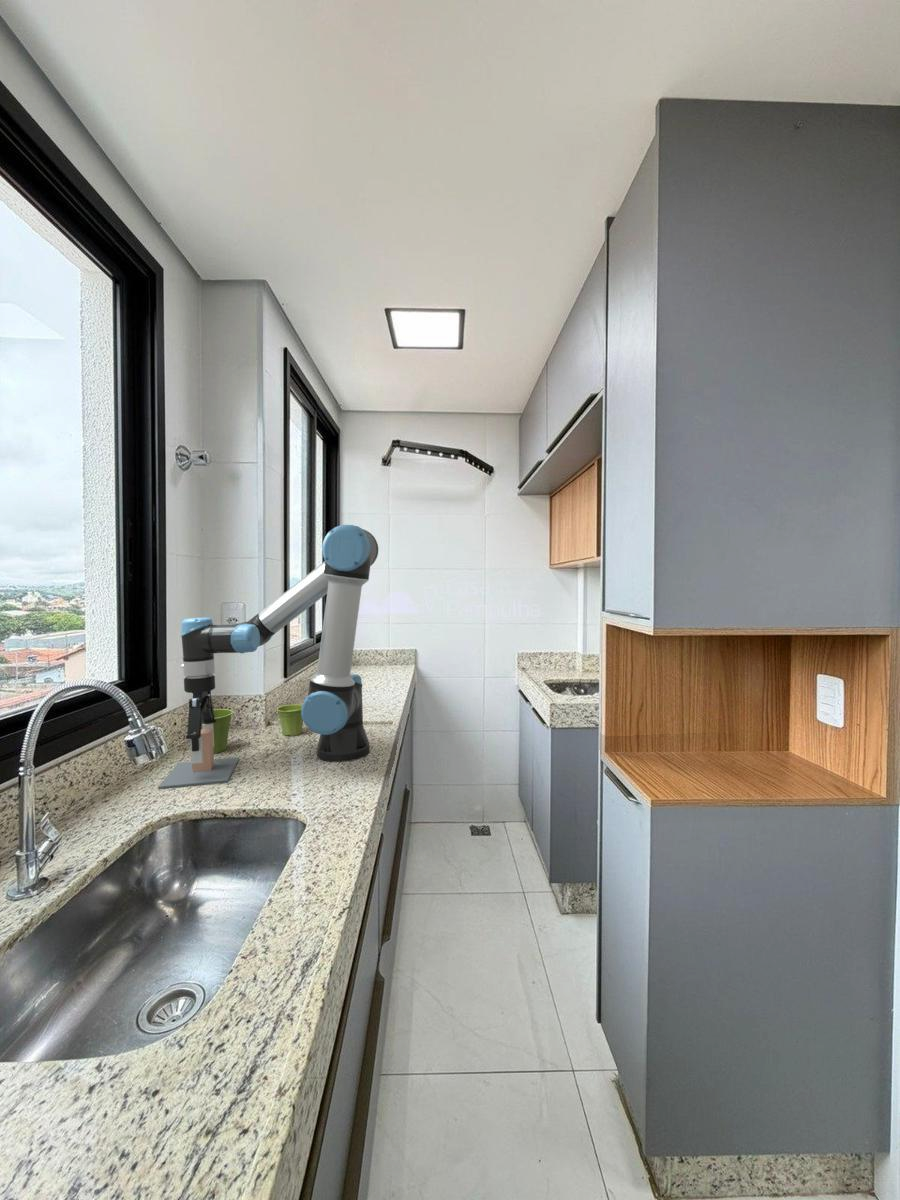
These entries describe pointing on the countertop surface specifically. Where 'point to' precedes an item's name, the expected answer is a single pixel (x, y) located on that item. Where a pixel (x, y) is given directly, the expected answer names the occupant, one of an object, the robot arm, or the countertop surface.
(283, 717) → the plant pot
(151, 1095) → the countertop surface
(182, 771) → the mat
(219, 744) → the plant pot
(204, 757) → the block
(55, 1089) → the countertop surface
